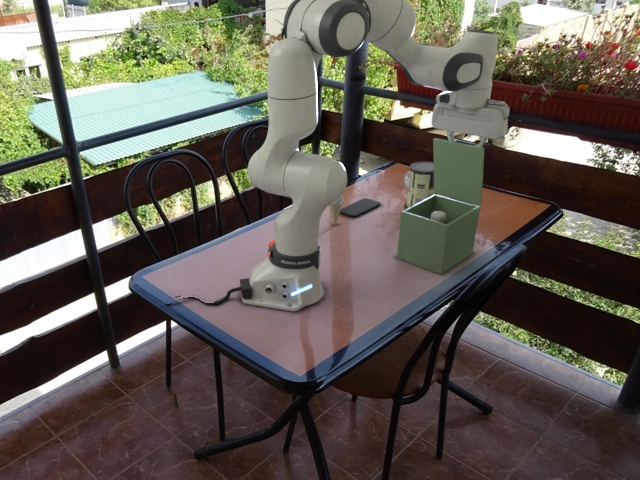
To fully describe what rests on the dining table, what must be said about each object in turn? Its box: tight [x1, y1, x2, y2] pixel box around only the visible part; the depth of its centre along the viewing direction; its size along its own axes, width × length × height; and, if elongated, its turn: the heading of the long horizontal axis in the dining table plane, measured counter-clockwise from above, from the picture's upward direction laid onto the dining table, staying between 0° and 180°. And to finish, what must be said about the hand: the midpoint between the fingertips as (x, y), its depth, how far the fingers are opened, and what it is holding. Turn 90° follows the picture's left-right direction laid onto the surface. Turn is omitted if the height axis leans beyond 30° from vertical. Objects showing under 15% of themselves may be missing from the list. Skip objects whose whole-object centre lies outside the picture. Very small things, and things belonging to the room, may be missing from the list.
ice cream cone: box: [328, 194, 344, 225], centre depth 183 cm, size 5×5×15 cm
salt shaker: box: [430, 211, 447, 223], centre depth 160 cm, size 6×6×13 cm
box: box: [396, 194, 481, 275], centre depth 160 cm, size 17×15×15 cm
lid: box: [432, 137, 485, 207], centre depth 156 cm, size 18×15×5 cm
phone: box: [339, 198, 381, 218], centre depth 195 cm, size 7×1×15 cm
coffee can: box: [406, 161, 439, 208], centre depth 191 cm, size 10×10×14 cm
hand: (464, 149), depth 153 cm, fingers closed on lid, 6 cm apart
